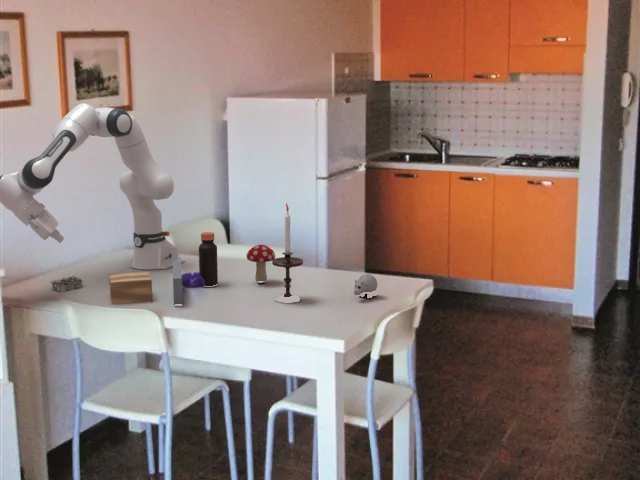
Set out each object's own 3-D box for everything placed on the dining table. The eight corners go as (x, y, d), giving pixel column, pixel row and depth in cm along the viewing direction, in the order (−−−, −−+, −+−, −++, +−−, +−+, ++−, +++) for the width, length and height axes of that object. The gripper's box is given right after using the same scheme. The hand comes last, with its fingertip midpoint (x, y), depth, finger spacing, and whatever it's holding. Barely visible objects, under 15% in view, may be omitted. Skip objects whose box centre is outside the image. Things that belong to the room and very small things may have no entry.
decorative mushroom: (258, 288, 332) (258, 249, 328) (240, 282, 340) (240, 244, 336) (281, 283, 339) (281, 245, 335) (263, 278, 347) (263, 240, 344)
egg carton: (59, 293, 325) (58, 282, 324) (49, 289, 330) (48, 278, 329) (85, 287, 333) (84, 277, 332) (74, 284, 338) (74, 273, 337)
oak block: (109, 295, 322) (109, 274, 321) (149, 293, 326) (148, 271, 324) (111, 304, 311) (110, 282, 309) (152, 301, 315) (151, 280, 313)
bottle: (195, 285, 336) (194, 233, 332) (209, 282, 341) (208, 230, 336) (207, 288, 331) (206, 236, 327) (221, 285, 336) (220, 233, 332)
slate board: (173, 286, 333) (172, 260, 331) (181, 286, 334) (180, 260, 332) (173, 306, 308) (172, 278, 306) (182, 306, 309) (181, 278, 307)
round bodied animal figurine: (345, 300, 317) (345, 277, 315) (364, 293, 326) (364, 270, 324) (362, 304, 313) (362, 280, 311) (381, 296, 322) (381, 274, 320)
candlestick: (268, 297, 320) (267, 201, 312) (296, 294, 324) (296, 199, 317) (278, 305, 310) (278, 206, 303) (307, 302, 314) (307, 204, 307)
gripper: (33, 212, 300) (65, 240, 304) (42, 202, 320) (71, 229, 324) (20, 225, 300) (52, 253, 304) (30, 215, 320) (59, 241, 324)
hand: (62, 240), depth 314 cm, fingers closed
